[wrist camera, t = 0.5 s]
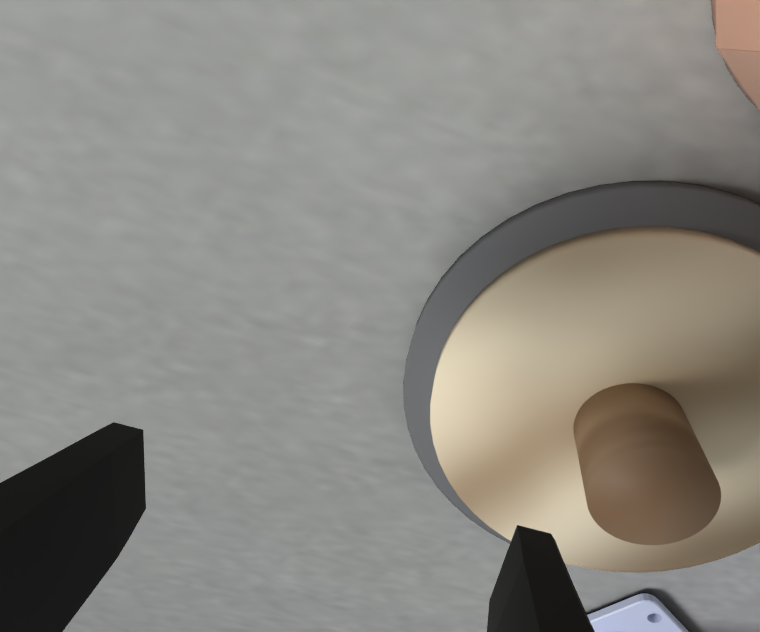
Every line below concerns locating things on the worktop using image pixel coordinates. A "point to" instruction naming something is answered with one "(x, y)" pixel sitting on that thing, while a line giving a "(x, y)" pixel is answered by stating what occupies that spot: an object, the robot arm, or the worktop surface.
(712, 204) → the mat
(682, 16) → the worktop surface
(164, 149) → the worktop surface
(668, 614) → the robot arm
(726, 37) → the ring
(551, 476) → the lid
